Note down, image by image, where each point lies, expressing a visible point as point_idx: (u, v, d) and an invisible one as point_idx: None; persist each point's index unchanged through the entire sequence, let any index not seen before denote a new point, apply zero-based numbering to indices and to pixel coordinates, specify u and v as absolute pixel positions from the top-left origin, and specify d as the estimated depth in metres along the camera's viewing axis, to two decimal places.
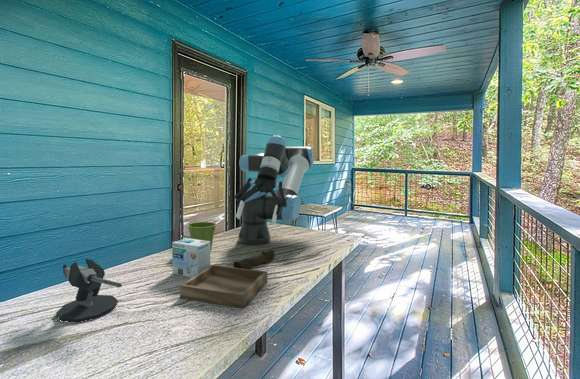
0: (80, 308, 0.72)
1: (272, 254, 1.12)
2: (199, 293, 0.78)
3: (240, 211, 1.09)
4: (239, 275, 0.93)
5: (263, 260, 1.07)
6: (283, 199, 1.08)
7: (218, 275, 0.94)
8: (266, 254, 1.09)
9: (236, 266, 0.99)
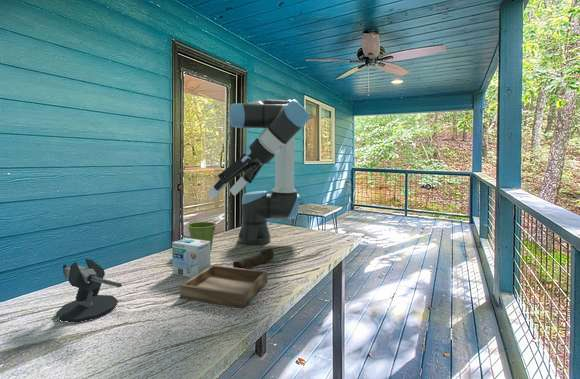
0: (80, 308, 0.72)
1: (271, 254, 1.12)
2: (199, 293, 0.78)
3: None
4: (239, 275, 0.93)
5: (263, 260, 1.08)
6: (254, 176, 0.99)
7: (218, 275, 0.94)
8: (265, 254, 1.09)
9: (236, 266, 0.99)
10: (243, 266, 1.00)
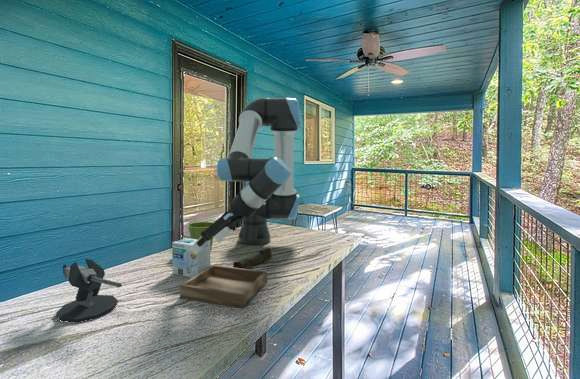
0: (80, 308, 0.72)
1: (269, 253, 1.13)
2: (199, 293, 0.78)
3: None
4: (239, 275, 0.93)
5: (262, 259, 1.08)
6: (238, 223, 1.00)
7: (218, 275, 0.94)
8: (264, 253, 1.09)
9: (237, 266, 0.99)
10: (243, 266, 1.00)
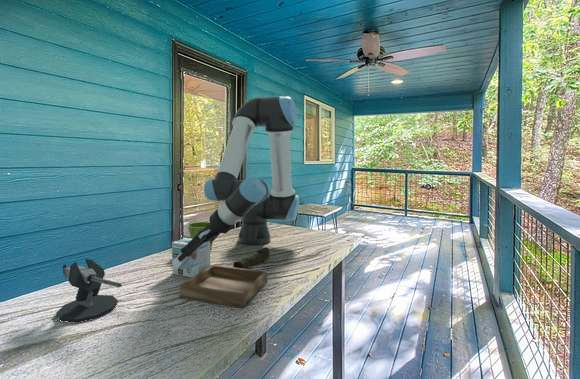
0: (80, 308, 0.72)
1: (267, 253, 1.13)
2: (199, 293, 0.78)
3: None
4: (239, 275, 0.93)
5: (260, 259, 1.08)
6: (212, 241, 1.02)
7: (218, 275, 0.94)
8: (263, 253, 1.10)
9: (237, 266, 0.99)
10: (244, 266, 1.00)
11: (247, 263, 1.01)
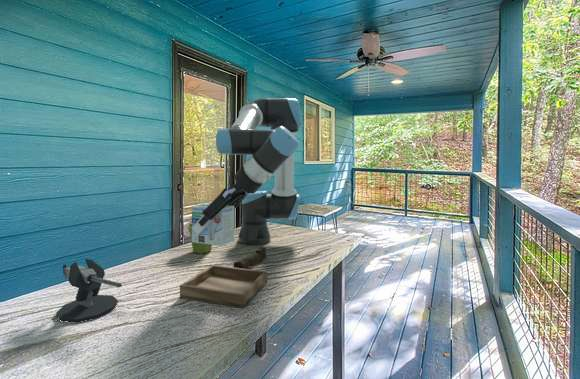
0: (80, 308, 0.72)
1: (265, 252, 1.14)
2: (199, 293, 0.78)
3: None
4: (239, 275, 0.93)
5: (259, 259, 1.09)
6: (235, 207, 0.91)
7: (218, 275, 0.94)
8: (261, 253, 1.10)
9: (238, 266, 0.99)
10: (244, 266, 1.00)
11: (247, 263, 1.01)
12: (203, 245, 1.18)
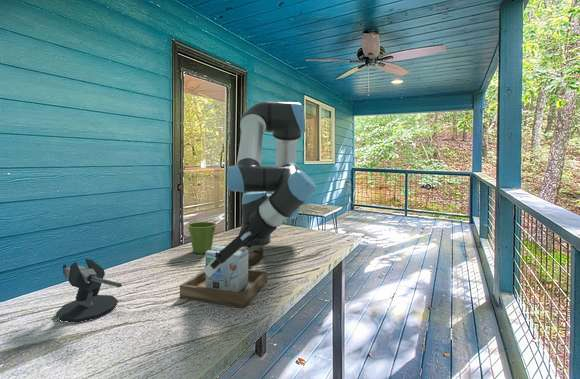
0: (80, 308, 0.72)
1: (262, 252, 1.14)
2: (199, 293, 0.78)
3: None
4: None
5: (257, 258, 1.09)
6: (254, 240, 0.92)
7: None
8: (259, 252, 1.11)
9: None
10: None
11: None
12: (203, 245, 1.18)
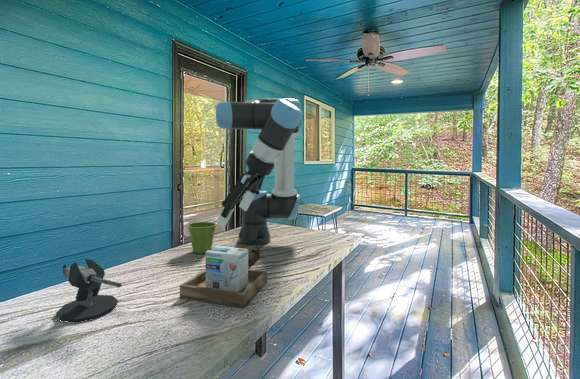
0: (80, 308, 0.72)
1: (259, 251, 1.15)
2: (199, 293, 0.78)
3: None
4: None
5: (255, 258, 1.10)
6: (260, 186, 0.92)
7: None
8: (256, 252, 1.11)
9: None
10: None
11: None
12: (203, 245, 1.18)
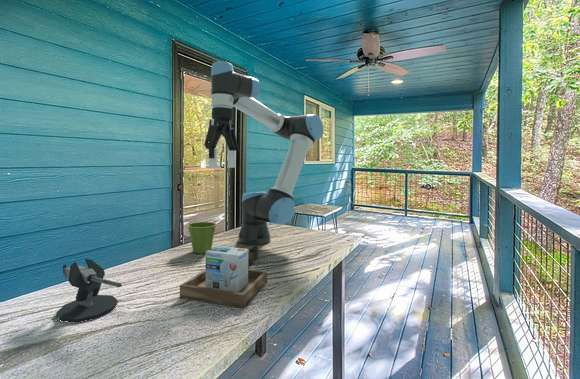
0: (80, 308, 0.72)
1: (257, 251, 1.15)
2: (199, 293, 0.78)
3: None
4: None
5: (254, 258, 1.10)
6: (236, 143, 1.14)
7: None
8: (255, 252, 1.11)
9: None
10: None
11: None
12: (203, 245, 1.18)
